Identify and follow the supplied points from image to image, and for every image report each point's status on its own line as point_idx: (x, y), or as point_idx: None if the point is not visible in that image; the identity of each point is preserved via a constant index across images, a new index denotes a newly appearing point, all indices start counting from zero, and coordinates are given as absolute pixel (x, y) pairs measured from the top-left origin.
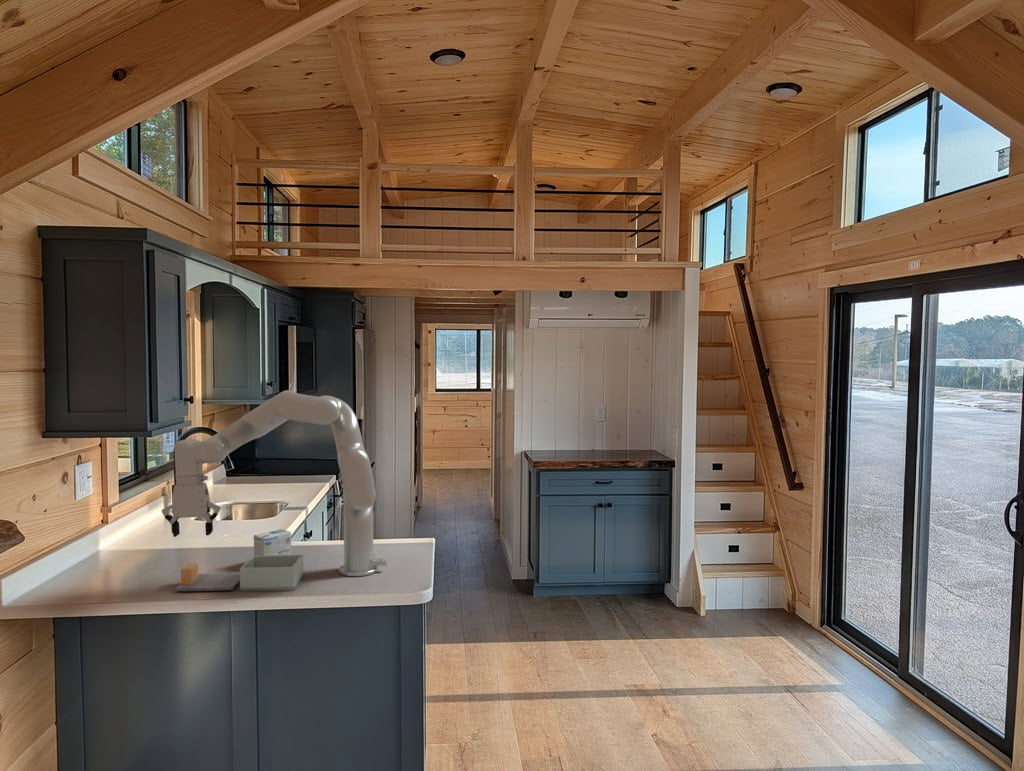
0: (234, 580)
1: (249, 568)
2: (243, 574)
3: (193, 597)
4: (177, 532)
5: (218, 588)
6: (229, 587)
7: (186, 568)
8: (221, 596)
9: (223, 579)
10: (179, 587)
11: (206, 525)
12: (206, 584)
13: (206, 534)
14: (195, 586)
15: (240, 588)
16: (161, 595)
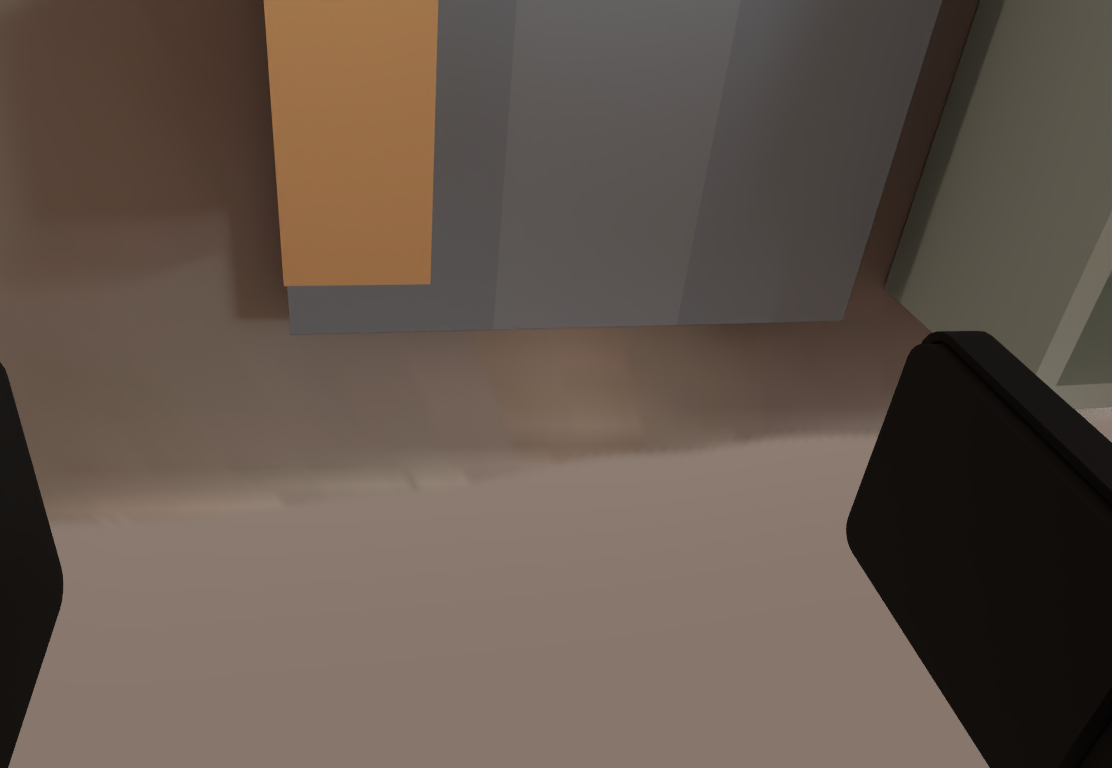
0: (863, 122)
1: (1106, 406)
2: None
3: (511, 410)
4: (13, 555)
5: (718, 319)
6: (817, 319)
7: (347, 239)
8: (740, 392)
9: (746, 71)
10: (322, 310)
11: (1009, 753)
12: (589, 232)
13: (866, 558)
14: (488, 286)
15: (901, 301)
16: (168, 361)
